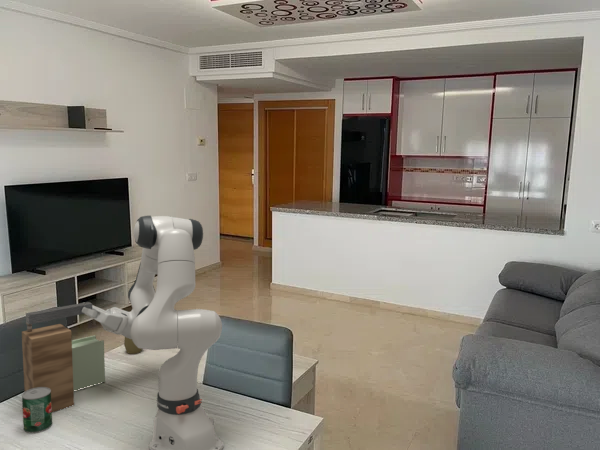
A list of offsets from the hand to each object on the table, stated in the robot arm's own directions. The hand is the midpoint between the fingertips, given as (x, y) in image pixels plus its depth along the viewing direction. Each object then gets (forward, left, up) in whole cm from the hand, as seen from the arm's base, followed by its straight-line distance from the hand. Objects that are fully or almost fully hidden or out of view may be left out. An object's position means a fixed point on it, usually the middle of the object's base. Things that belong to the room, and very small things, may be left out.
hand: (79, 307), depth 165 cm
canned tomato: (-11, +18, -32) cm, 38 cm away
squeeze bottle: (+26, -32, -32) cm, 52 cm away
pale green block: (+9, -3, -32) cm, 33 cm away
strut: (0, +6, -2) cm, 7 cm away
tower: (0, +11, -32) cm, 34 cm away
